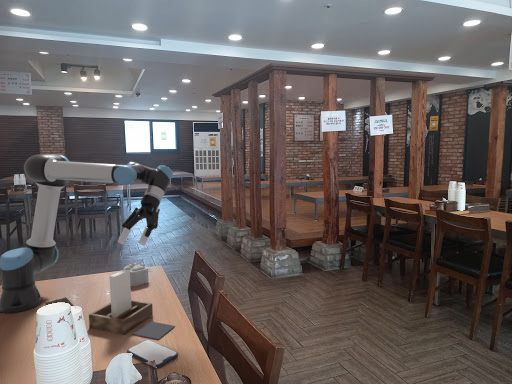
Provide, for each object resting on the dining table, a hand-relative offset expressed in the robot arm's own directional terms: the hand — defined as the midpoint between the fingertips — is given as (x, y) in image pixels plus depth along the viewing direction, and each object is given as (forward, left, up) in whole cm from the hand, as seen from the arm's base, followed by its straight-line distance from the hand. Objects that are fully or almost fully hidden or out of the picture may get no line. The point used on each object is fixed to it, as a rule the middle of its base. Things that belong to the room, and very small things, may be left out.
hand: (130, 243), depth 141 cm
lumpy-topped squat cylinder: (-22, +28, -28) cm, 46 cm away
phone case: (+27, -24, -29) cm, 46 cm away
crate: (+2, -9, -28) cm, 29 cm away
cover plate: (+2, -9, -27) cm, 28 cm away
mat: (+18, -11, -28) cm, 35 cm away
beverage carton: (-19, -17, -28) cm, 38 cm away
